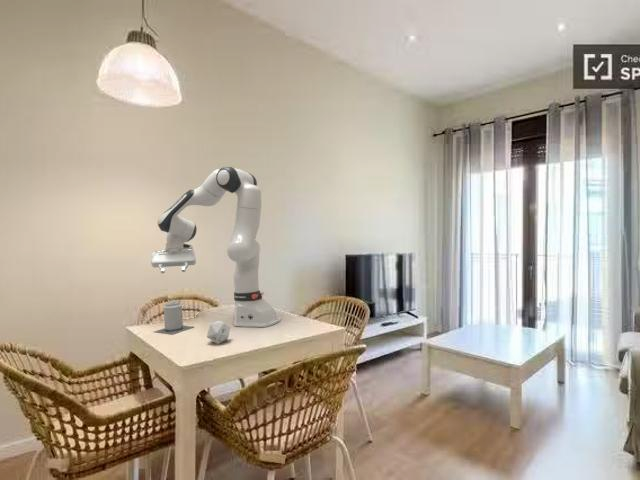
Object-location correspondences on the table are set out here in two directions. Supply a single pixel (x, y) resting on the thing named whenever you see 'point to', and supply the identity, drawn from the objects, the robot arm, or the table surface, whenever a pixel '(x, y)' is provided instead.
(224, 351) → the table surface
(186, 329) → the mat
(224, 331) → the die
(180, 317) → the can
